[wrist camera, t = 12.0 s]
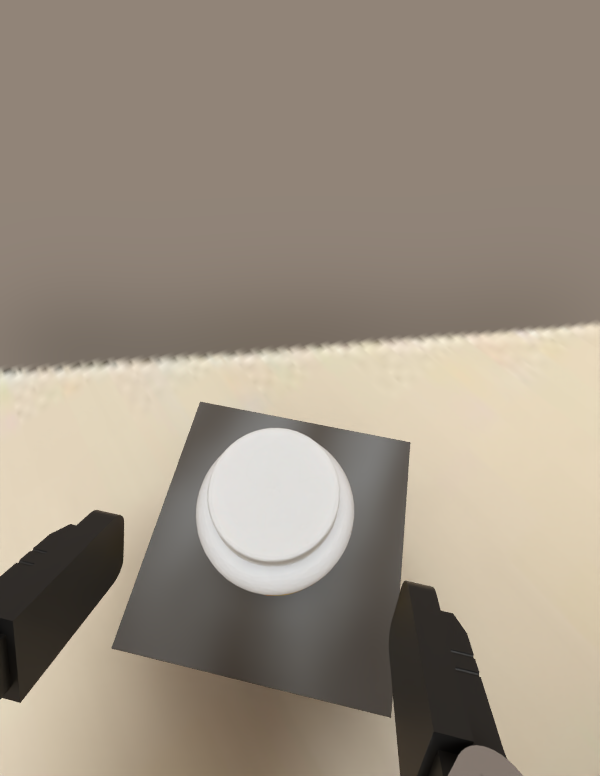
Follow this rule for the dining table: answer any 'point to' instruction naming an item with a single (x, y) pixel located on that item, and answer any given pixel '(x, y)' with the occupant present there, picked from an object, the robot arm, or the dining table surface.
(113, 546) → the robot arm
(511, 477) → the dining table surface
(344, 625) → the block
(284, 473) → the supplement bottle
